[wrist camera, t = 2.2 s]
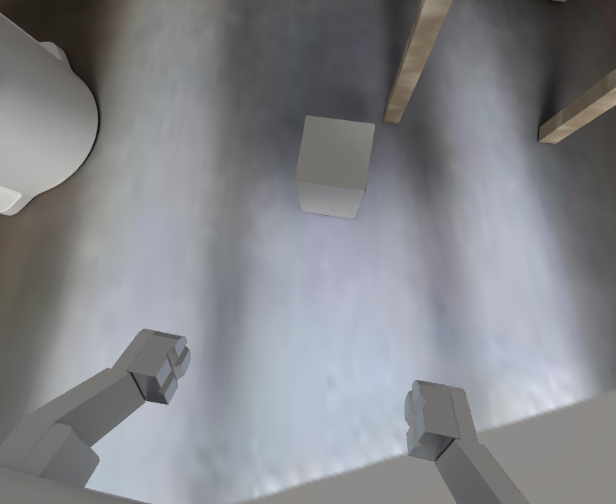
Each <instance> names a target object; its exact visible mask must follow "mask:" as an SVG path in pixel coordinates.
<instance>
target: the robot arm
mask: <svg viewBox="0 0 616 504" xmlns="http://www.w3.org/2000/svg"><path fill="white" fill-rule="evenodd" d="M97 126H98V113H97V107H96V103H95V100H94V97H93V95H92V93H91V91H90V90H89V88H88V87H87V85H86V84H85V83H84V82H83V81H82V80H81V79H80V78H79V77H78V76H77V75H76V74H75V73H74V72H73V71H72V70H71V68H70V65H69V62H68V59H67V57H66V54H65V53H64V51H63V50H62V49H60V48H59V47H58V46H57V45H55V44H54V43H52V42H38V41H36V40H35V39H34V38H32V37H31V36H30V35H29V34H27V33H26V32H25V31H23V30H22V29H21V28H19V27H18V26H17V25H16V24H14V23H13V22H12V21H10V20H9V19H8V18H6V17H5V16H4V15H3V14H1V13H0V213H1V214H4V215H14V214H16V213H17V212H19V211H20V210H21V209H22V208H23V207H24V206H25V205H26V204H27V203H28V202H29V201H30V200H31V199H32V198H33V197H35V196H36V195H38V194H40V193H42V192H44V191H46V190H48V189H51V188H53V187H55V186H57V185H58V184H60V183H62V182H63V181H64V180H66V179H67V178H68V177H70V176H71V175H72V174H73V173H74V172H75V171H76V170H77V169H78V168H79V167H80V165H81V164H82V163H83V162H84V160H85V159H86V157H87V156H88V154H89V152H90V150H91V148H92V145H93V143H94V140H95V137H96V132H97ZM186 344H187V340H186V337H185V336H179V335H174V334H169V333H163V332H159V331H154V330H149V329H143V330H142V331H140V332H139V333H138V334H137V336H136V337H135V338H134V340H133V341H132V342H131V343H130V345H129V346H128V347H127V349H126V350H125V351H124V353H123V354H122V355H121V357H120V358H119V359H118V361H117V362H116V363H115V365H114V366H113V367H112V369H110V368H107V369H105V370H103V371H102V372H100V373H98V374H96V375H95V376H93V377H91V378H90V379H88V380H86V381H85V382H83V383H81V384H79V385H78V386H76V387H74V388H73V389H71V390H69V391H68V392H66V393H64V394H62V395H61V396H59V397H57V398H56V399H54V400H52V401H51V402H49V403H47V404H45V405H44V406H42V407H40V408H39V409H37V410H35V411H34V412H32V413H30V414H28V415H27V417H26V418H25V419H24V420H23V421H22V422H21V423H20V424H19V426H18V427H17V428H16V429H15V430H14V431H13V432H12V434H11V435H10V436H9V437H8V438H7V439H6V440H5V441H4V443H3V444H2V445H1V446H0V504H150V503H145V502H141V501H137V500H133V499H129V498H125V497H121V496H117V495H113V494H108V493H104V492H100V491H96V490H92V489H88V488H84V486H85V485H86V483H87V482H88V480H89V478H90V477H91V475H92V473H93V472H94V470H95V468H96V467H97V465H98V463H99V462H100V461H99V456H98V455H97V454H96V453H95V452H94V451H93V450H92V449H91V448H90V447H91V446H92V445H94V444H95V443H96V442H97V441H99V440H100V439H101V438H102V437H103V436H105V435H106V434H107V433H108V432H110V431H111V430H112V429H113V428H114V427H116V426H117V425H118V424H119V423H121V422H122V421H123V420H124V419H125V418H127V417H128V416H129V415H130V414H132V413H133V412H134V411H135V410H136V409H138V408H139V407H140V406H141V405H143V404H144V403H145V401H150V402H155V403H161V404H166V405H168V404H169V403H170V401H171V399H172V397H173V395H174V393H175V391H176V390H177V388H178V384H177V380H178V379H179V378H181V377H182V376H184V375H185V373H186V371H187V369H188V366H189V363H190V357H191V353H190V350H189V349H188V348H187V347H186ZM405 420H406V422H407V423H408V425H409V426H410V428H409V430H408V432H407V433H406V436H407V446H408V456H412V457H417V458H421V459H425V460H429V461H433V462H435V465H436V467H437V468H438V470H439V472H440V474H441V476H442V478H443V479H444V481H445V483H446V485H447V487H448V488H449V490H450V492H451V494H452V495H453V497H454V499H455V501H456V503H457V504H530V503H529V502H528V500H527V499H526V498H525V497H524V495H523V494H522V493H521V492H520V490H519V489H518V488H517V486H516V485H515V484H514V483H513V481H512V480H511V479H510V478H509V476H508V475H507V474H506V473H505V471H504V470H503V469H502V467H501V466H500V465H499V464H498V462H497V461H496V460H495V458H494V457H493V456H492V455H491V453H490V452H489V451H488V449H487V448H486V447H485V446H484V445H483V444H479V442H478V439H477V435H476V431H475V427H474V423H473V419H472V416H471V412H470V408H469V404H468V400H467V397H466V393H465V391H464V390H463V389H462V388H458V387H452V386H447V385H443V384H437V383H431V382H425V381H419V380H415V381H414V382H413V384H412V391H409V392H408V394H407V396H406V400H405Z"/></svg>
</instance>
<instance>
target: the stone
mask: <svg viewBox="0 0 616 504" xmlns="http://www.w3.org/2000/svg"><path fill="white" fill-rule="evenodd" d="M374 130H375V124H371V123H363V122H355V121H347V120H340V119H332V118H324V117H316V116H308V115H306V118H305V124H304V129H303V135H302V140H301V146H300V152H299V157H298V163H297V168H296V174H295V179H294V182H295V186H296V190H297V194H298V197H299V201H300V205H301V209H302V211H303V212H309V213H316V214H323V215H329V216H336V217H343V218H349V219H354V218H355V216H356V213H357V211H358V208H359V206H360V203H361V201H362V198H363V196H364V194H365V191H366V184H367V177H368V171H369V164H370V157H371V151H372V144H373V137H374Z"/></svg>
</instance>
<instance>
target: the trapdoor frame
mask: <svg viewBox="0 0 616 504" xmlns="http://www.w3.org/2000/svg"><path fill="white" fill-rule="evenodd" d="M554 1H564V2H565V1H566V0H554ZM452 2H453V0H421V2H420V5H419V8H418V11H417V14H416V17H415V20H414V23H413V26H412V29H411V32H410V35H409V38H408V41H407V44H406V47H405V50H404V53H403V56H402V59H401V62H400V65H399V68H398V71H397V74H396V77H395V80H394V84H393V87H392V90H391V93H390V96H389V99H388V102H387V105H386V108H385V114H384V121H383V122H386V123H394V124H399V122H400V120H401V118H402V115H403V113H404V111H405V109H406V106H407V104H408V102H409V99H410V97H411V95H412V93H413V90H414V88H415V86H416V84H417V81H418V79H419V77H420V75H421V72H422V70H423V68H424V66H425V63H426V61H427V59H428V56H429V54H430V52H431V50H432V47H433V45H434V43H435V41H436V38H437V36H438V34H439V32H440V29H441V27H442V25H443V22H444V20H445V18H446V16H447V13H448V11H449V9H450V7H451V4H452ZM614 105H616V69H615V70H613V71H612V72H611V73H609V74H608V75H607V76H606V77H604V78H603V79H602V80H600V81H599V82H598V83H596V84H595V85H594V86H593V87H591V88H590V89H589V90H587V91H586V92H585V93H583V94H582V95H581V96H579V97H578V98H577V99H576V100H574V101H573V102H572V103H570V104H569V105H568V106H566V107H565V108H564V109H563V110H561V111H560V112H559V113H557V114H556V115H555V116H553V117H552V118H551V119H550V120H548V121H547V122H546V123H544V124H543V125H542V126H540V131H539V142H545V143H553V144H556V143H557V142H559V141H560V140H562V139H563V138H565V137H566V136H568V135H569V134H571V133H573V132H574V131H576V130H577V129H579V128H580V127H582V126H583V125H585V124H587V123H588V122H590V121H591V120H593V119H594V118H596V117H597V116H599V115H601V114H602V113H604V112H605V111H607V110H608V109H610V108H611V107H613V106H614Z"/></svg>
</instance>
